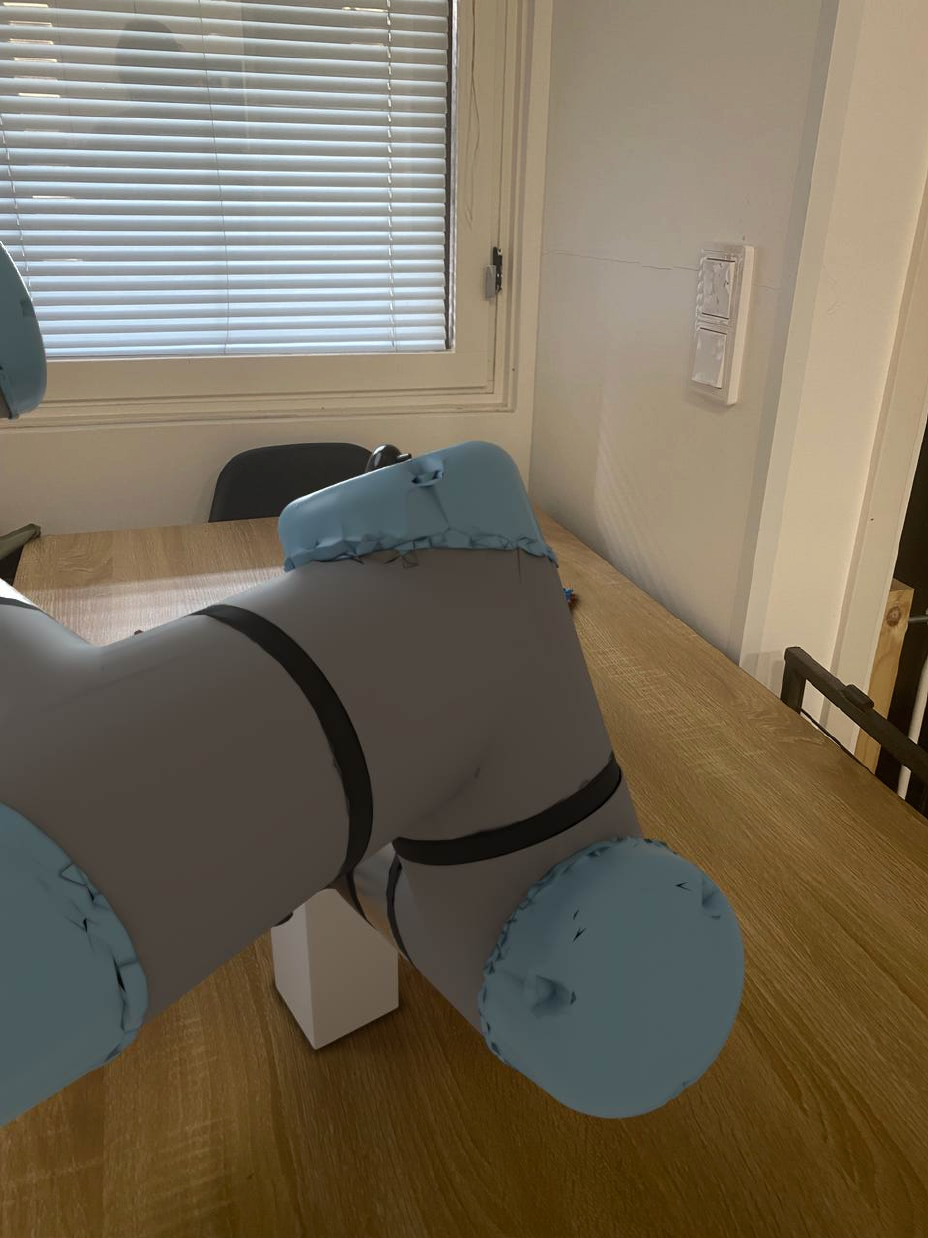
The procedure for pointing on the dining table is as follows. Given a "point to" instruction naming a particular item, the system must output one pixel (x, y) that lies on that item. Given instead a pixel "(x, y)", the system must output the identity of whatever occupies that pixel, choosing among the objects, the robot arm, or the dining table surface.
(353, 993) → the milk carton
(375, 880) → the robot arm
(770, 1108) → the dining table surface
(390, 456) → the pump dispenser
